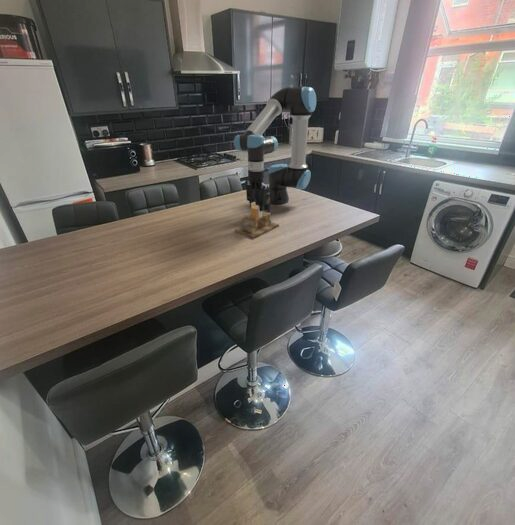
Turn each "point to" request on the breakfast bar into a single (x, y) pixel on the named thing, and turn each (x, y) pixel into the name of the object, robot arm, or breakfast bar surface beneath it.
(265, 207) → the canister
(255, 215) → the orange rectangular block
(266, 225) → the shaft bench
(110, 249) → the breakfast bar surface
